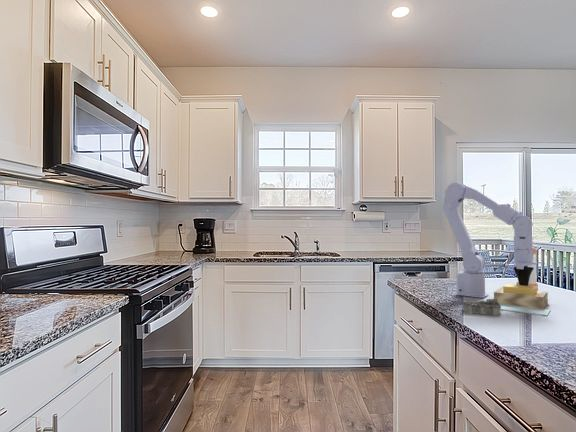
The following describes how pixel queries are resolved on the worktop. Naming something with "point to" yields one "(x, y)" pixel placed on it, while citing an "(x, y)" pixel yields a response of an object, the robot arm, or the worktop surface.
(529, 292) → the yellow rectangular block
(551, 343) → the worktop surface
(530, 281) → the salt shaker
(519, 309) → the mat
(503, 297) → the tan flat block
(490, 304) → the egg carton
